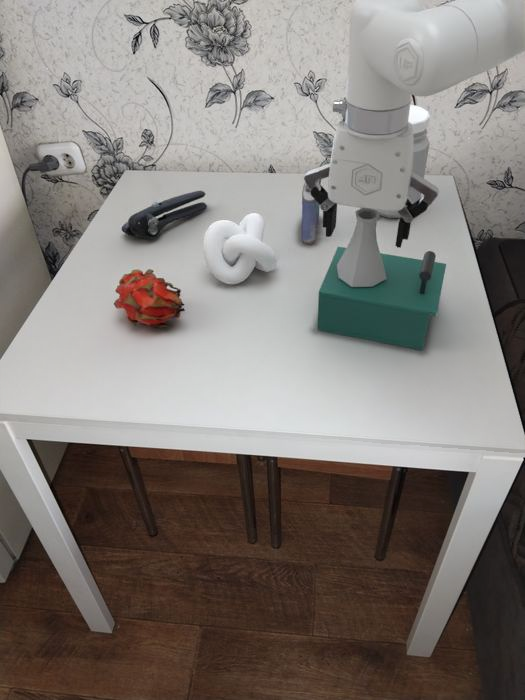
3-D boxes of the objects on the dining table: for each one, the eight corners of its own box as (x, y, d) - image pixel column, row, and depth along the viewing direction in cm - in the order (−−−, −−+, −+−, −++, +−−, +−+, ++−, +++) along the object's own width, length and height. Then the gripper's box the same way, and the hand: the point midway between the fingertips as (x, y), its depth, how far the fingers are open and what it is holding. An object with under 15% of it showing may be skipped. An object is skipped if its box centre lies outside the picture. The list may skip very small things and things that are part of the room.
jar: (415, 223, 108) (431, 128, 96) (362, 216, 111) (371, 122, 98) (421, 197, 115) (437, 104, 102) (371, 191, 117) (381, 99, 105)
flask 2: (315, 245, 104) (316, 190, 97) (298, 244, 105) (298, 189, 98) (320, 217, 111) (322, 164, 104) (305, 216, 111) (305, 163, 104)
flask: (395, 282, 84) (404, 222, 77) (348, 293, 83) (353, 233, 76) (373, 254, 89) (380, 195, 82) (328, 264, 88) (331, 205, 81)
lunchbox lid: (445, 266, 87) (451, 240, 84) (436, 316, 80) (442, 289, 77) (337, 249, 92) (339, 223, 88) (318, 294, 84) (319, 268, 81)
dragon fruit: (123, 309, 96) (186, 339, 93) (92, 312, 88) (159, 345, 85) (139, 260, 94) (203, 289, 91) (109, 259, 86) (178, 290, 83)
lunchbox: (432, 301, 92) (440, 265, 88) (422, 350, 85) (430, 315, 80) (335, 284, 96) (337, 249, 92) (317, 330, 89) (318, 295, 84)
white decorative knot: (293, 264, 101) (293, 218, 95) (253, 302, 94) (251, 255, 88) (240, 244, 106) (236, 199, 99) (198, 279, 99) (191, 234, 92)
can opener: (140, 251, 105) (134, 224, 101) (119, 235, 109) (113, 208, 105) (218, 213, 113) (215, 187, 109) (196, 200, 117) (193, 174, 113)
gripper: (297, 120, 69) (297, 242, 81) (448, 135, 65) (424, 262, 77) (314, 95, 74) (311, 214, 86) (454, 108, 70) (431, 231, 82)
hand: (364, 236), depth 82 cm, fingers open, 9 cm apart
